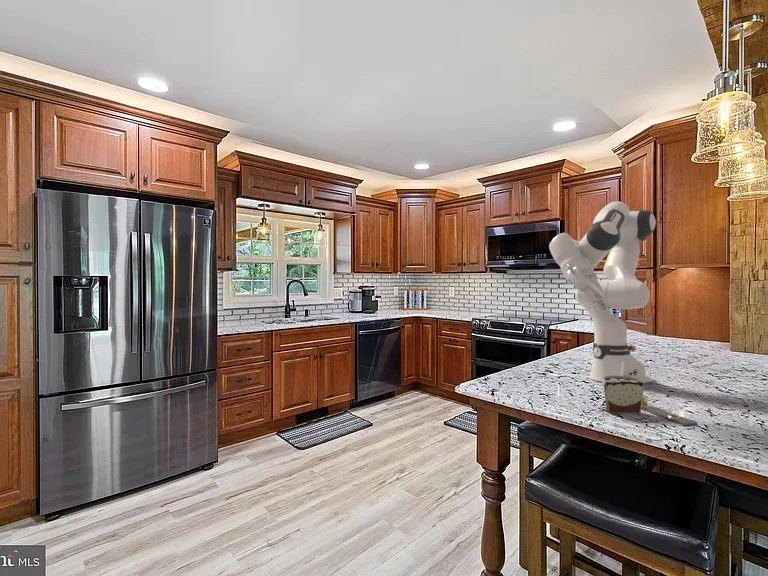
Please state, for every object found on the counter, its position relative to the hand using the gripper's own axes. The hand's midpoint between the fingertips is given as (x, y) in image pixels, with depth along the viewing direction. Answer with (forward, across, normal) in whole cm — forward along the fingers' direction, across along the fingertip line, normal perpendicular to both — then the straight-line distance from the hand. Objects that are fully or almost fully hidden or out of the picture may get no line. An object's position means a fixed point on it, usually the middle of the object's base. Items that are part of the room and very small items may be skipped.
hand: (599, 305), depth 128 cm
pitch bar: (+33, +12, +4) cm, 35 cm away
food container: (+29, +7, +12) cm, 32 cm away
